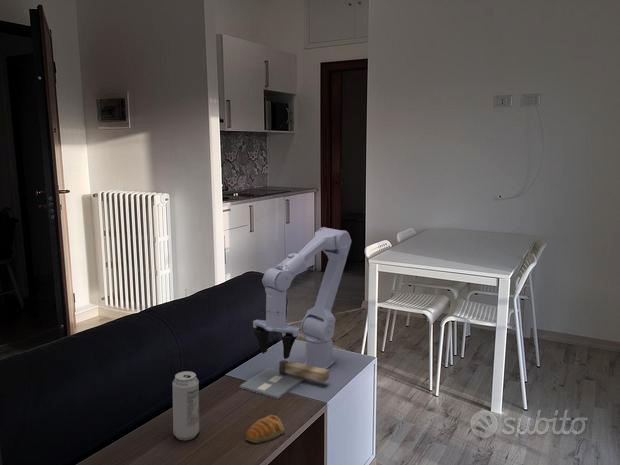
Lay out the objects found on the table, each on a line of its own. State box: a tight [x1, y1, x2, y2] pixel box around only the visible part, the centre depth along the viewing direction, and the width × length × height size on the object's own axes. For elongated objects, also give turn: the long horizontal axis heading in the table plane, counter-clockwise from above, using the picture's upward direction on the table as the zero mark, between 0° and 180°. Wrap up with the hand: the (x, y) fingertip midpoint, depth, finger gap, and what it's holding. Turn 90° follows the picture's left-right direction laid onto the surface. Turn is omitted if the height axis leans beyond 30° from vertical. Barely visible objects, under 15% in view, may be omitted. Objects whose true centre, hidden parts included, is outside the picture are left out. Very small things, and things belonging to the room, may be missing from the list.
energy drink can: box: [172, 370, 200, 441], centre depth 125 cm, size 6×6×15 cm
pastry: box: [245, 414, 285, 444], centre depth 127 cm, size 9×7×4 cm
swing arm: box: [278, 359, 330, 383], centre depth 157 cm, size 16×3×3 cm, turn 64°
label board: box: [239, 366, 306, 400], centre depth 155 cm, size 15×13×1 cm
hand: (275, 354), depth 154 cm, fingers open, 7 cm apart
